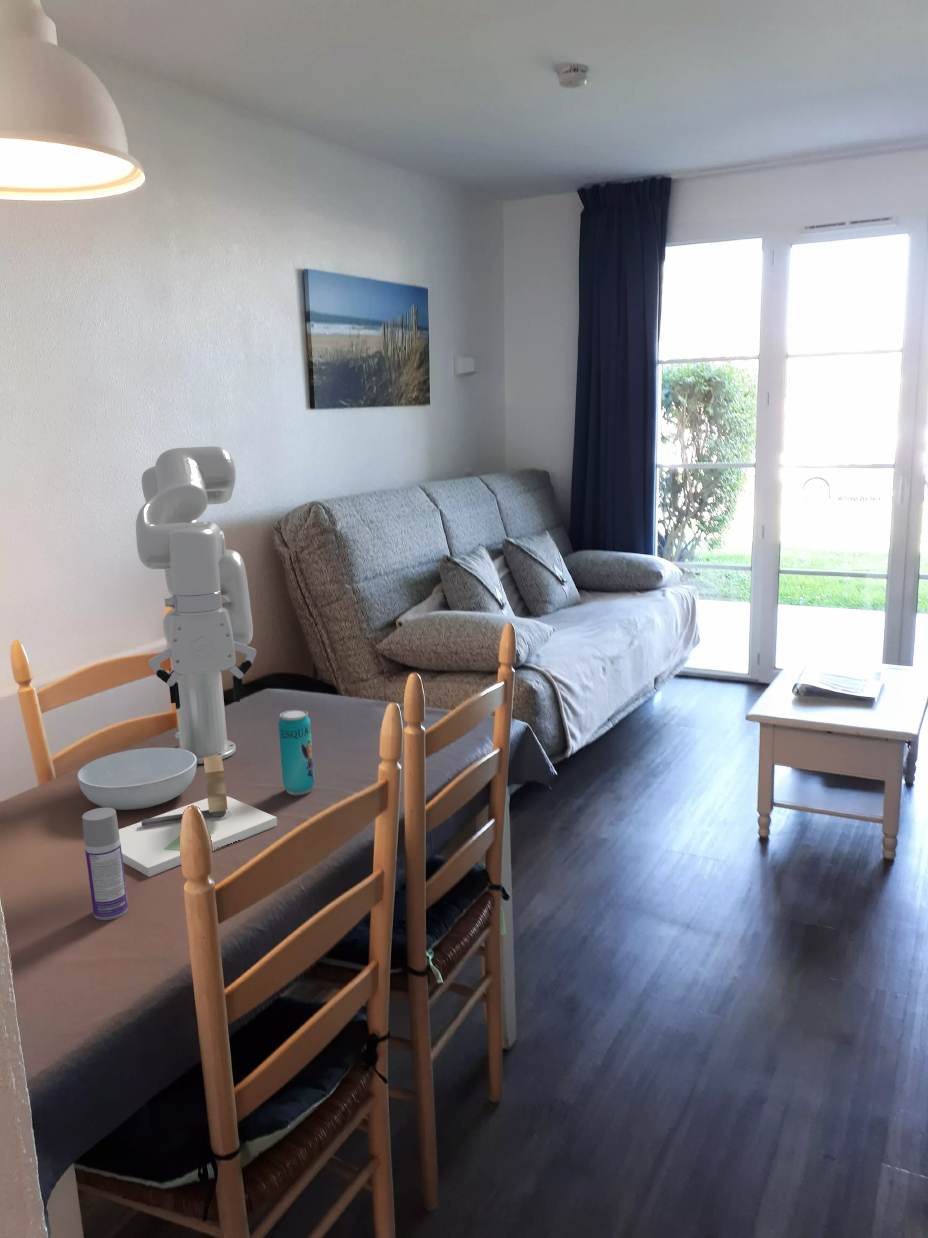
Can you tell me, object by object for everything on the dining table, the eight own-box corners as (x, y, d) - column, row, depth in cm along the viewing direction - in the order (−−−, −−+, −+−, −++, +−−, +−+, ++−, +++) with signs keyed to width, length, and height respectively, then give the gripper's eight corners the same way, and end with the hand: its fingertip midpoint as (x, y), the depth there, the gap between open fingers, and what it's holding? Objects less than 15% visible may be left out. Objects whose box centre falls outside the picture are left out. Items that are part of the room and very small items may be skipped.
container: (99, 905, 140) (86, 808, 137) (132, 902, 140) (120, 806, 137) (89, 921, 135) (76, 822, 132) (123, 919, 136) (111, 819, 132)
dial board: (96, 846, 159) (95, 837, 159) (221, 801, 176) (220, 792, 176) (150, 878, 147) (149, 868, 147) (279, 826, 164) (278, 817, 164)
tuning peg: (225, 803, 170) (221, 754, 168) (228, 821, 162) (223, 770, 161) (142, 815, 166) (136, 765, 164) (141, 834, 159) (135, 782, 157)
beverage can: (308, 797, 176) (302, 719, 173) (279, 796, 177) (272, 718, 174) (319, 785, 182) (313, 709, 179) (290, 784, 183) (284, 708, 180)
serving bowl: (223, 790, 182) (220, 755, 180) (135, 832, 164) (131, 794, 163) (146, 772, 192) (143, 739, 191) (56, 811, 175) (51, 775, 173)
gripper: (142, 612, 152) (153, 716, 156) (253, 602, 157) (262, 703, 160) (143, 604, 159) (154, 703, 163) (250, 594, 164) (258, 691, 167)
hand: (207, 703), depth 161 cm, fingers open, 9 cm apart
